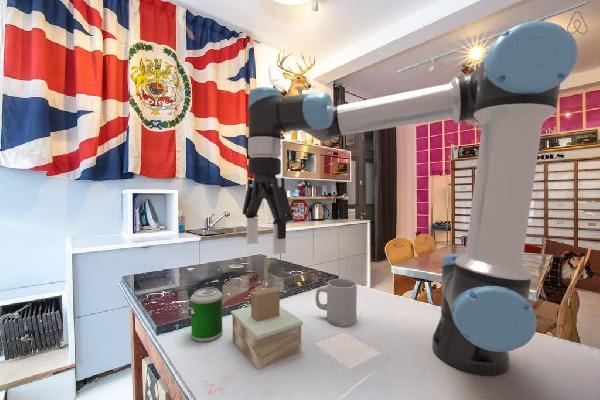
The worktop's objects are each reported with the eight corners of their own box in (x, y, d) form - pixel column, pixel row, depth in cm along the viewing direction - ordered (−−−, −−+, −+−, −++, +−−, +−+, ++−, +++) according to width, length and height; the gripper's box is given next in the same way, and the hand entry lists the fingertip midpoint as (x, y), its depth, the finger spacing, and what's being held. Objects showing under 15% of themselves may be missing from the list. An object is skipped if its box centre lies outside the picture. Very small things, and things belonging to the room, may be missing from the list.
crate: (301, 354, 67) (301, 324, 67) (257, 371, 61) (257, 338, 60) (271, 330, 79) (271, 304, 78) (232, 342, 72) (232, 314, 72)
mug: (357, 315, 88) (357, 279, 87) (355, 328, 79) (356, 288, 79) (317, 311, 90) (317, 276, 90) (312, 323, 82) (312, 285, 82)
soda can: (227, 332, 77) (227, 287, 77) (212, 347, 70) (211, 298, 70) (203, 328, 79) (202, 285, 79) (185, 342, 72) (184, 295, 72)
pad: (381, 356, 66) (381, 353, 66) (349, 372, 60) (349, 369, 60) (344, 334, 76) (344, 332, 76) (314, 346, 70) (314, 343, 70)
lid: (303, 328, 67) (303, 295, 66) (257, 344, 60) (256, 307, 60) (272, 307, 79) (271, 279, 78) (230, 318, 72) (230, 287, 72)
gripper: (309, 153, 60) (308, 256, 61) (255, 162, 80) (256, 238, 81) (277, 151, 56) (277, 261, 56) (229, 160, 76) (230, 241, 77)
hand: (264, 248), depth 69 cm, fingers open, 13 cm apart
